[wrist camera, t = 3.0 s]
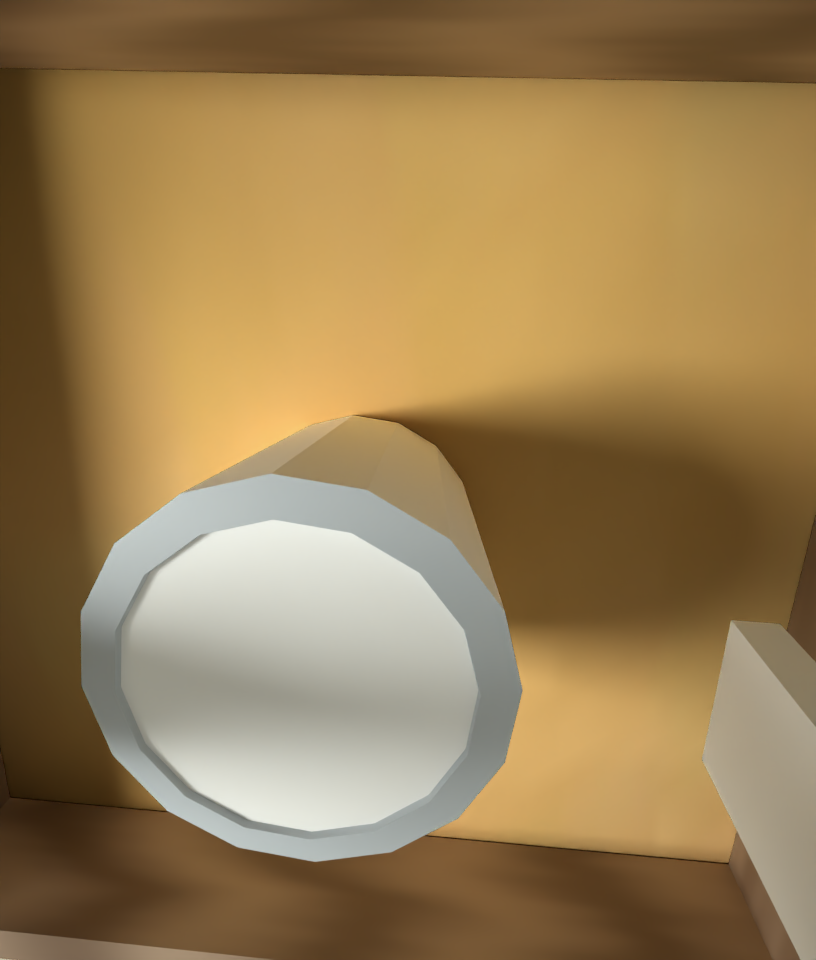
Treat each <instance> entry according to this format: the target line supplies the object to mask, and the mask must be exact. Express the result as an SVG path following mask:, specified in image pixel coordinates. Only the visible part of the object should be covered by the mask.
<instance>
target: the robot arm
mask: <svg viewBox="0 0 816 960" xmlns="http://www.w3.org/2000/svg"><path fill="white" fill-rule="evenodd" d="M702 761H703V763H704V765H705V767H706V769H707V771H708V773H709V775H710V777H711V779H712V781H713V783H714V785H715V787H716V789H717V791H718V794H719V796H720V798H721V800H722V802H723V804H724V806H725V808H726V810H727V812H728V814H729V816H730V818H731V820H732V822H733V824H734V826H735V828H736V830H737V832H738V834H739V836H740V838H741V840H742V842H743V844H744V846H745V848H746V850H747V852H748V854H749V856H750V858H751V860H752V862H753V864H754V866H755V868H756V870H757V873H758V875H759V877H760V879H761V881H762V883H763V885H764V887H765V889H766V891H767V893H768V895H769V897H770V899H771V901H772V903H773V905H774V907H775V909H776V911H777V913H778V915H779V917H780V919H781V921H782V923H783V925H784V927H785V929H786V931H787V933H788V935H789V937H790V939H791V941H792V943H793V945H794V947H795V949H796V952H797V954H798V956H799V958H800V960H816V662H815V661H814V660H813V659H812V658H811V657H810V656H809V655H808V654H807V652H806V651H805V650H804V649H803V648H802V647H801V646H800V645H799V644H798V643H797V642H796V641H795V639H794V638H793V637H792V636H791V635H790V634H789V633H788V632H787V631H786V630H785V629H784V628H783V627H782V625H781V624H775V623H762V622H749V621H736V620H731V623H730V628H729V633H728V637H727V642H726V647H725V652H724V656H723V661H722V666H721V671H720V676H719V680H718V685H717V690H716V695H715V699H714V704H713V709H712V714H711V718H710V723H709V728H708V733H707V737H706V742H705V747H704V752H703V756H702Z"/></svg>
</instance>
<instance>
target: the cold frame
mask: <svg viewBox="0 0 816 960" xmlns="http://www.w3.org/2000/svg"><path fill="white" fill-rule="evenodd" d="M0 68H27V69H82V70H137V71H192V72H248V73H303V74H358V75H413V76H468V77H523V78H578V79H633V80H688V81H743V82H798V83H816V0H0ZM787 632H788V633H789V634H790V635H791V636H792V637H793V638H794V639H795V641H796V642H797V643H798V644H799V645H800V646H801V647H802V648H803V649H804V650H805V651H806V652H807V654H808V655H809V656H810V657H811V658H812V659H813V660H814V661H815V662H816V517H815V521H814V525H813V529H812V533H811V537H810V541H809V545H808V549H807V553H806V557H805V561H804V565H803V569H802V573H801V577H800V581H799V585H798V589H797V593H796V597H795V601H794V605H793V609H792V613H791V617H790V621H789V625H788V629H787ZM0 958H3V959H12V960H800V958H799V956H798V954H797V952H796V949H795V947H794V945H793V943H792V941H791V939H790V937H789V935H788V933H787V931H786V929H785V927H784V925H783V923H782V921H781V919H780V917H779V915H778V913H777V911H776V909H775V907H774V905H773V903H772V901H771V899H770V897H769V895H768V893H767V891H766V889H765V887H764V885H763V883H762V881H761V879H760V877H759V875H758V873H757V870H756V868H755V866H754V864H753V862H752V860H751V858H750V856H749V854H748V852H747V850H746V848H745V846H744V844H743V842H742V840H741V838H740V836H739V834H738V832H737V833H736V837H735V841H734V845H733V849H732V853H731V857H730V861H729V864H719V863H708V862H697V861H686V860H676V859H665V858H654V857H643V856H633V855H622V854H611V853H600V852H589V851H579V850H568V849H557V848H546V847H536V846H525V845H514V844H503V843H493V842H482V841H471V840H460V839H449V838H439V837H428V836H422V837H420V838H419V839H417V840H415V841H413V842H411V843H409V844H407V845H405V846H403V847H401V848H399V849H397V850H395V851H393V852H390V853H382V854H374V855H366V856H358V857H350V858H342V859H334V860H326V861H318V862H313V861H308V860H303V859H297V858H292V857H286V856H281V855H276V854H270V853H265V852H259V851H254V850H249V849H243V848H238V847H236V846H234V845H232V844H230V843H228V842H226V841H224V840H222V839H220V838H219V837H217V836H215V835H213V834H211V833H209V832H207V831H205V830H203V829H201V828H199V827H197V826H196V825H194V824H192V823H190V822H188V821H186V820H184V819H182V818H180V817H178V816H176V815H174V814H173V813H169V812H159V811H148V810H137V809H126V808H116V807H105V806H94V805H83V804H73V803H62V802H51V801H40V800H29V799H19V798H10V795H9V790H8V785H7V780H6V775H5V770H4V765H3V760H2V755H1V749H0Z"/></svg>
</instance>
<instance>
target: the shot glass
mask: <svg viewBox="0 0 816 960" xmlns="http://www.w3.org/2000/svg"><path fill="white" fill-rule="evenodd" d="M81 686H82V689H83V691H84V693H85V695H86V697H87V700H88V702H89V704H90V706H91V708H92V711H93V713H94V715H95V717H96V720H97V722H98V724H99V726H100V728H101V731H102V733H103V735H104V737H105V739H106V742H107V744H108V746H109V748H110V750H111V753H112V755H113V756H114V757H115V758H116V759H117V760H118V761H119V762H120V763H121V764H122V765H123V766H124V767H125V768H126V769H127V770H128V771H129V772H130V773H131V774H132V775H133V776H134V777H135V778H136V779H137V780H138V782H139V783H140V784H141V785H142V786H143V787H144V788H145V789H146V790H147V791H148V792H149V793H150V794H151V795H152V796H153V797H154V798H155V799H156V800H157V801H158V802H159V803H160V804H161V805H162V806H163V807H164V808H165V809H166V810H167V811H169V812H171V813H173V814H174V815H176V816H178V817H180V818H182V819H184V820H186V821H188V822H190V823H192V824H194V825H196V826H197V827H199V828H201V829H203V830H205V831H207V832H209V833H211V834H213V835H215V836H217V837H219V838H220V839H222V840H224V841H226V842H228V843H230V844H232V845H234V846H236V847H238V848H243V849H249V850H254V851H259V852H265V853H270V854H276V855H281V856H286V857H292V858H297V859H303V860H308V861H313V862H318V861H326V860H334V859H342V858H350V857H358V856H366V855H374V854H382V853H390V852H393V851H395V850H397V849H399V848H401V847H403V846H405V845H407V844H409V843H411V842H413V841H415V840H417V839H419V838H420V837H422V836H424V835H426V834H428V833H430V832H432V831H434V830H436V829H438V828H440V827H442V826H444V825H446V824H448V823H450V822H452V821H454V820H456V819H458V818H459V817H460V815H461V814H462V813H463V812H464V811H465V809H466V808H467V807H468V806H469V805H470V803H471V802H472V801H473V800H474V799H475V797H476V796H477V795H478V794H479V793H480V791H481V790H482V789H483V788H484V787H485V785H486V784H487V783H488V782H489V781H490V780H491V778H492V777H493V776H494V775H495V774H496V772H497V771H498V770H499V769H500V768H501V766H502V765H503V764H504V763H505V759H506V755H507V751H508V747H509V743H510V739H511V735H512V731H513V727H514V723H515V719H516V715H517V711H518V707H519V703H520V699H521V694H522V686H521V681H520V677H519V672H518V668H517V664H516V659H515V655H514V650H513V646H512V641H511V637H510V632H509V628H508V623H507V619H506V614H505V610H504V607H503V604H502V601H501V598H500V595H499V592H498V589H497V586H496V583H495V580H494V577H493V574H492V571H491V568H490V565H489V562H488V558H487V555H486V552H485V549H484V546H483V543H482V540H481V537H480V534H479V531H478V528H477V525H476V522H475V519H474V516H473V513H472V510H471V507H470V504H469V500H468V497H467V494H466V491H465V488H464V485H463V482H462V480H461V479H460V478H459V476H458V475H457V474H456V472H455V471H454V469H453V468H452V467H451V465H450V464H449V463H448V461H447V460H446V459H445V457H444V456H443V454H442V453H441V452H440V450H439V449H438V448H437V446H435V445H434V444H432V443H430V442H429V441H427V440H426V439H424V438H422V437H421V436H419V435H417V434H416V433H414V432H412V431H411V430H409V429H408V428H406V427H404V426H403V425H401V424H399V423H397V422H391V421H385V420H379V419H373V418H367V417H361V416H355V415H352V416H348V417H343V418H339V419H335V420H330V421H326V422H322V423H317V424H313V425H310V426H308V427H306V428H304V429H302V430H300V431H298V432H296V433H294V434H293V435H291V436H289V437H287V438H285V439H283V440H281V441H279V442H277V443H275V444H274V445H272V446H270V447H268V448H266V449H264V450H262V451H260V452H258V453H256V454H255V455H253V456H251V457H249V458H247V459H245V460H243V461H241V462H239V463H238V464H236V465H234V466H232V467H230V468H228V469H226V470H224V471H222V472H220V473H219V474H217V475H215V476H213V477H211V478H209V479H207V480H205V481H203V482H201V483H200V484H198V485H196V486H194V487H192V488H190V489H188V490H186V491H184V492H182V493H181V494H179V495H178V496H177V497H175V498H174V499H173V500H171V501H170V502H169V503H167V504H166V505H165V506H163V507H162V508H161V509H159V510H158V511H157V512H155V513H154V514H153V515H151V516H150V517H149V518H147V519H146V520H145V521H143V522H142V523H141V524H139V525H138V526H137V527H135V528H134V529H133V530H131V531H130V532H129V533H128V534H126V535H125V536H124V537H122V538H121V539H120V540H118V541H117V542H116V543H114V545H113V547H112V549H111V551H110V553H109V555H108V557H107V559H106V561H105V563H104V565H103V568H102V570H101V572H100V574H99V576H98V578H97V580H96V582H95V584H94V586H93V588H92V590H91V592H90V594H89V596H88V598H87V600H86V602H85V604H84V606H83V608H82V610H81Z"/></svg>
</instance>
